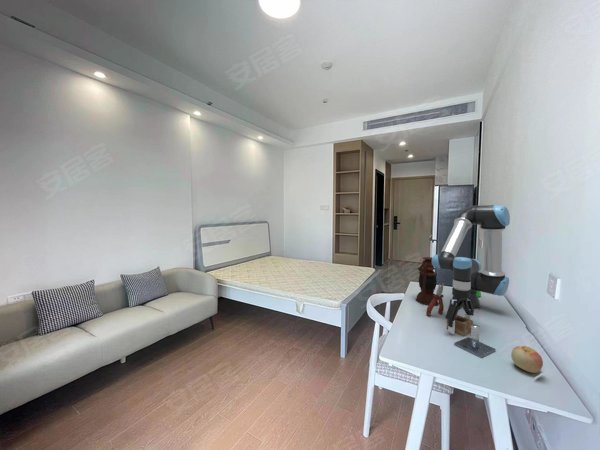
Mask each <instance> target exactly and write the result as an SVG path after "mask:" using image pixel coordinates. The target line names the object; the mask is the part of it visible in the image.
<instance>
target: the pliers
mask: <svg viewBox="0 0 600 450" xmlns="http://www.w3.org/2000/svg"><path fill="white" fill-rule="evenodd" d="M444 285H445V283H444V282H442V283H439V284H438V286H437V288H436V289H437V290H436V293H434V294H435V295H434V298H433V300H432V301H431V303H430V304H429V306H427V309H426V316H428V317H430V316H431V315H432V311H433V308H434V307H435V306H434V305H435V304H436V302H437V301H438V303H439V305H438V310H437V313H438V314H439V315H442V314H443V313H444V309H445V306H444V305H445V304H444V301H443V298H444V294H443V292H444Z"/></svg>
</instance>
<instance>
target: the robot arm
mask: <svg viewBox="0 0 600 450" xmlns="http://www.w3.org/2000/svg"><path fill="white" fill-rule="evenodd" d="M510 220H511V216H510V212H509V209H508V207H507V206H506V205H500V204H499V205H498V204H488V205H485V204H484V205H482V204H481V205H477V204H476V205H470V206H468V207H466V208H464V209H463V210H461V211H460V212H459V213H458V214H457V215H456V216H455V218H454V220H453V226H452V229H451V231H450V233H449V234H448V237H447V239H446V240H445V243H444V245H443V246H442V249H441V251H440V253H439V254H434V255H432V257H431V258H432V265H433V266H434V268H435V269H436V268H437V269H439V270H445V271H452V281H451V282H452V288H451V291H452V292H451V295H452V297H451V298H450V300H449V305H448V308H447V311H446V314H445V319H446V320H447V319H448V329H447V332H448V333H450V334H451V335H455V334H456V333H455V321H454V319H455V317H456V315H458V312H459V311H460V310H461V309H463V310H464V318H467V319H469V320H472V317H473V316H474V314H475V310H474V309H478V308H480V307H481V302H480V299H479V297H478V296H477V291H480V292H481V293H485V294H490V295H494V296H499V297H503V296H505V294H506V293H507V291H508V289H509V285H510V279H509V277H508V276H506V273H505V272H504V271H503V269H502V268H503V266H502V263H503V256H502V255H503V231H504V230H505V229H506V227H508V226H509V225H510ZM474 225H477V226H478V225H479V227H480V228H479V229H481V231H483V269H482V264H481V262H480V261H479V260H478V259H475V258H469V257H464V256H457V254H458V252H459V249H460V247H461V245H462V243H463V241H464V239H465V237H466V235H467V233H468V230H469V229H471V228H472V227H473V226H474Z"/></svg>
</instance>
